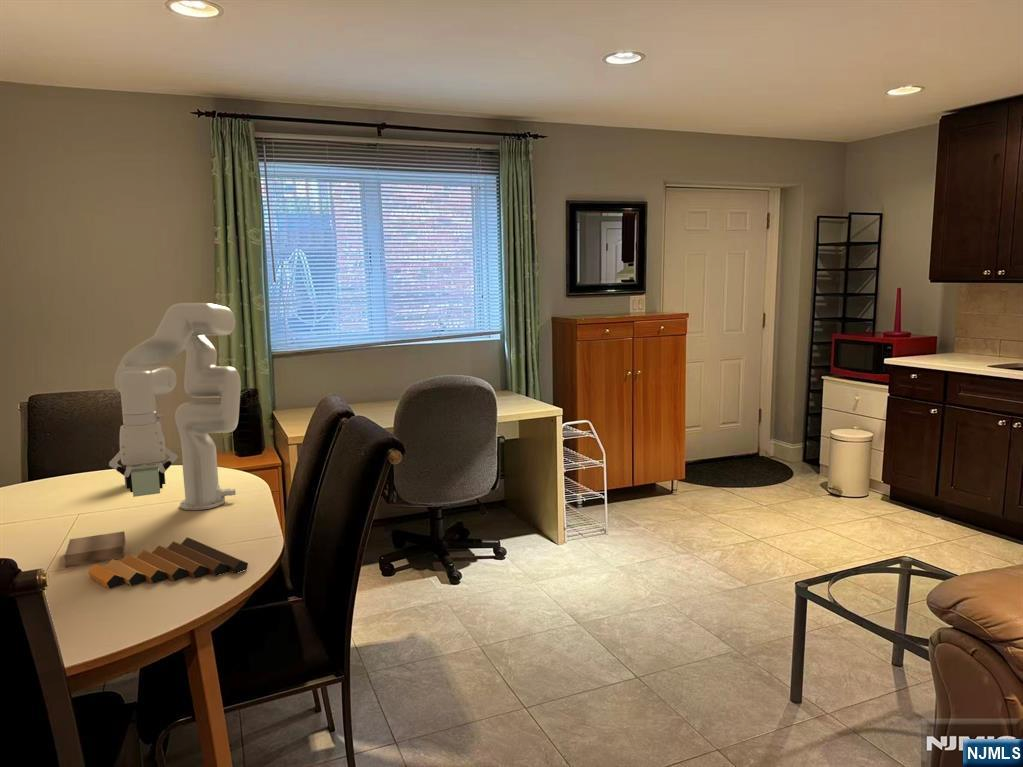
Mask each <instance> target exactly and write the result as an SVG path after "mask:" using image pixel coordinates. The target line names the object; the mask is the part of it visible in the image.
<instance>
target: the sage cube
mask: <svg viewBox="0 0 1023 767" xmlns="http://www.w3.org/2000/svg"><path fill="white" fill-rule="evenodd" d="M131 478H132V489H133V492H132V497H136V498H137V497H142V496H150V495H158V494H161V489H160V484H159V468H158V467H157V465H151V466H142V467H134V468H132V470H131Z"/></svg>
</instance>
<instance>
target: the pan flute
mask: <svg viewBox="0 0 1023 767" xmlns="http://www.w3.org/2000/svg"><path fill="white" fill-rule="evenodd" d="M248 566H249V563H248V562H247V561H244V560H242V559H239V558H237V557H234V556H233V555H231V554H228V553H225V552H224V551H220V550H218V549H217V548H214V547H212V546H209V545H207V544H204V543H202V542H200V541H197V540H195V539H193V538H191V537H186V538H185V539H184V540H183V541H182V542H181V543H179V542H177V541H172V542H171V543H170V544H169V545H168V546H167V547H164V546H162V545H157V547H156V548H154V549H153V551H152V552H151V551H148V550H145V549H143V550H142V551H141V552H140V553H139V554H138V555H137V556H135V555H134V556H133V555H132V554H127V555H126V556H124V558H122V560H121V561H119V560H118V559H115V560H114V559H112V560H109V561H108V563H107V564H105V566H103V565H100V564H97V563H94V565H93V566H92V567H91V568H90V569H89V570H88V572H87V573H88V575H89V577H90V578H91V579H93V580H94V579H95V580H94V581H96V582H97V581H98V583H99V584H100V585H102V584H103V586H104V587H106V588H107V587H108V589H109V590H111V589H115V588H117V587H120V586H122V585H123V582H124V583H125V584H126V585H128V584H129V586H131V587H134V586H137V585H139V584H140V585H141V584H143V583H144V581H145V579H146V581H147V582H149V583H151V584H157V583H160V582H163V581H166V578H167V577H168V578H167V579H169V578H170V579H169V580H172V581H173V582H177V581H179V579H180V580H182V578H183V579H185V577H187V576H189V577H191V578H193V579H195V580H197V579H199V578H202V577H205V576H207V575H208V574H210V573H211V575H212V574H213V575H212V576H214V575H215V577H218V576H217V575H219V574H222V575H224V574H226V573H225V572H227V573H228V571H229V570H231V571H233V572H235V573H238V572H240V571H243V570H246V569H247V570H248ZM227 569H228V570H227ZM247 570H246V571H247ZM231 571H230V572H231ZM208 572H209V573H208ZM233 572H232V573H233ZM223 573H224V574H223ZM235 573H234V574H235ZM238 574H239V573H238ZM219 576H220V575H219ZM110 588H111V589H110Z"/></svg>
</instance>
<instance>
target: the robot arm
mask: <svg viewBox="0 0 1023 767" xmlns="http://www.w3.org/2000/svg"><path fill="white" fill-rule="evenodd" d="M235 326H236V318H235V314H234V313H233V311H232V310H231V309H230V308H229V307H227V306H223V305H219V304H215V303H210V302H209V303H208V302H184V303H183V302H179V303H175V304H173V305H171V306H169V307H168V309H167V310H166V311H165V313H164V316H163V317H162V319H161V321H160V323H159V325H158V327H157V329H156V331H155V333H154V334H153V335H152V336H151V337H149V338H147V339H146V340H145V339H144V341H142V342H141V343H139V344H137V345H136V346H134V347H133V348H130V350H129V351H127V352H126V353H125V354H124V356H123V357H122V359H121V361H120V362H119V364H118V366H117V368H116V371H115V374H114V386H115V389H116V390H117V391H118V392H119V393H120V401H121V410H122V413H121V414H122V422H123V424H122V425H120V427H119V428H120V429H119V451H118V453H116V455H115V456H114V457H113V458H112V459H111V460H110V461H109V462H108V466H109V467H110V468H112V469H113V470H115V471H117V472H118V473H119V474H120V475H122V476H125V477H126V485H127V486H126V490H128V489H129V492H130V493H131V494H132V493H133V489H132V478H131V470H132V467H133V466H135V465H144V464H152V463H156V465H157V467H158V470H159V484H160V490H161V489H163V487H164V486H163V485H166V476H165V475H166V474H165V473H166V471H168V469H169V468H170V467H171V465H173V463H174V462H175V461H176V460H178V456H179V455H178V454H177V453H175V452H174V451H173V450H171V449H170V448H169V447H168V446H166V441H165V435H164V430H163V429H164V428H163V425H162V423H161V421H158V420H160V419H164V413H163V412H159V411H157V404H156V403H157V402H156V401H157V400H156V396H158V395H159V396H160V395H166V394H170V393H171V392H172V391H173V390H174V389H175V388H176V385H177V383H178V376H177V373H176V371H175V370H174V369H173V368H171V367H169V366H167V365H155V364H159V363H162V362H165V361H169V360H171V359H174V358H177V357H178V356H180V355H182V354H183V353H184V352H185V351H186V352H185V353H186V356H185V357H186V358H185V369H184V380H183V382H184V383H183V386H184V392H185V394H186V395H187V396H188V397H189V398H195V399H212V398H213V399H215V398H219V399H220V401H219V400H217V401H215V400H214V401H210V400H209V401H208V400H204V401H188V402H187V401H186V402H183V403H182V404H180V405H179V406H178V407H177V408H176V410H175V413H174V418H175V419H174V420H175V423H176V425H175V426H176V428H177V431H178V434H179V440H180V441H179V442H180V449H181V461H182V475H183V476H182V477H183V485H184V486H183V487H184V499H183V500H182V501H180V502H179V508H181V509H182V510H185V511H204V510H209V509H213V508H218V507H220V506H222V505H223V504H225V502H226V497H228V496H236V495H237V494H236V493H237V492H236V488H232V489H231V488H230V487H229V488H228V487H227V488H224V489H223V488H221V486H220V485H219V483H220V482H219V473H218V472H219V471H218V470H219V469H218V460H217V458H218V457H217V446H216V443H215V441H214V440H213V439H212V437H211V436H210V435H209V434H228V433H232V432H234V431H235V430H236V429H237V427H238V424H239V419H240V418H239V417H240V404H241V392H242V391H241V389H242V388H241V386H242V382H241V376H240V373H239V372H238V370H237V368H235V367H234V366H233V367H232V366H225V365H224V366H223V365H222V366H221V365H220V366H219V365H218V366H217V359H218V358H217V357H218V353H217V352H218V351H217V349H216V348H215V346H214V345H213V343H212V342H211V341H210V340H209V339H208V338H207V337H206V336H229V335H231V333H233V331H234V329H235ZM167 456H168V457H169V458H168V459H167V458H166V457H167ZM166 459H167V460H166ZM119 461H120V464H121V465H120V464H119V463H118V462H119ZM164 461H165V462H164ZM163 462H164V463H163ZM124 466H126V469H125V468H124ZM125 477H124V478H125Z"/></svg>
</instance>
